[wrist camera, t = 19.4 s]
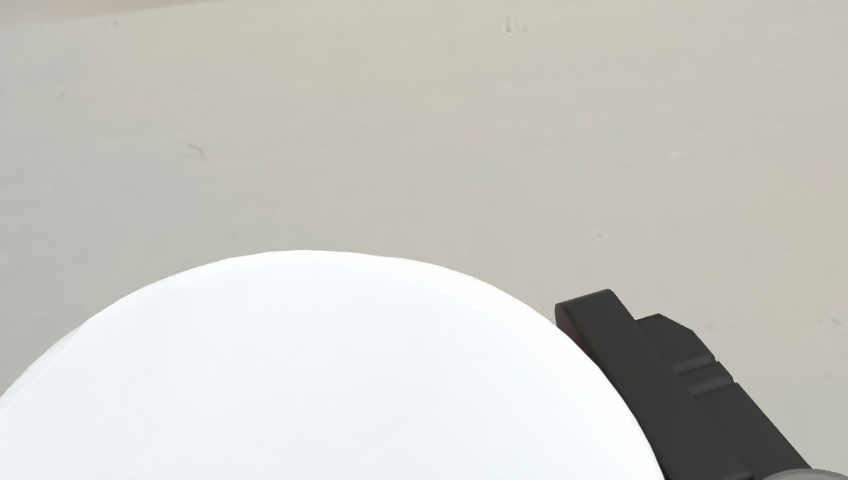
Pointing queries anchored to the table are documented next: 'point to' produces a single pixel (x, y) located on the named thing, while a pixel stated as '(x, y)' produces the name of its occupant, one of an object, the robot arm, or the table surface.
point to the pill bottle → (318, 383)
